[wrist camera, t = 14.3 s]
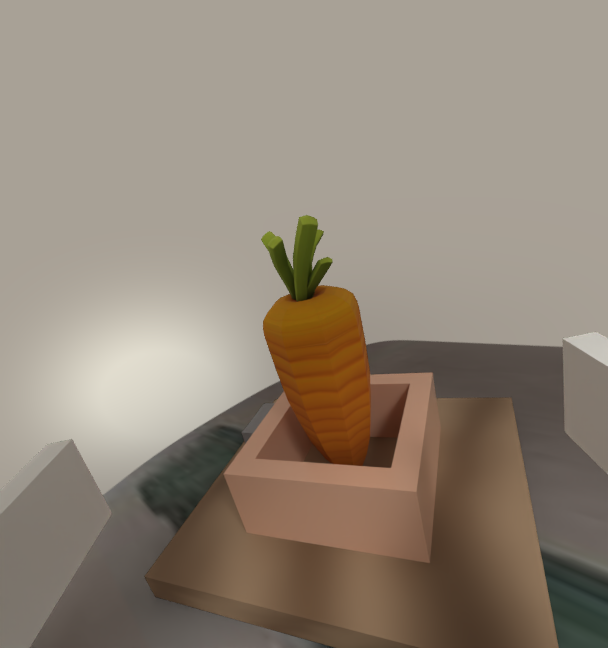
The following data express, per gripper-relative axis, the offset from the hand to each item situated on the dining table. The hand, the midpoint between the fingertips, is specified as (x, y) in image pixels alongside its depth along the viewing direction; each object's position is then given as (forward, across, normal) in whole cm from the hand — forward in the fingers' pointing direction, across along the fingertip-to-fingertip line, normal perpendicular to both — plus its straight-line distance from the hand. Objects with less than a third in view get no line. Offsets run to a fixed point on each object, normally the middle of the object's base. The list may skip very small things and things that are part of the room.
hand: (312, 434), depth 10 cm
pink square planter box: (+10, 0, -10) cm, 14 cm away
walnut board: (+10, 0, -12) cm, 15 cm away
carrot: (+10, 0, -10) cm, 14 cm away
